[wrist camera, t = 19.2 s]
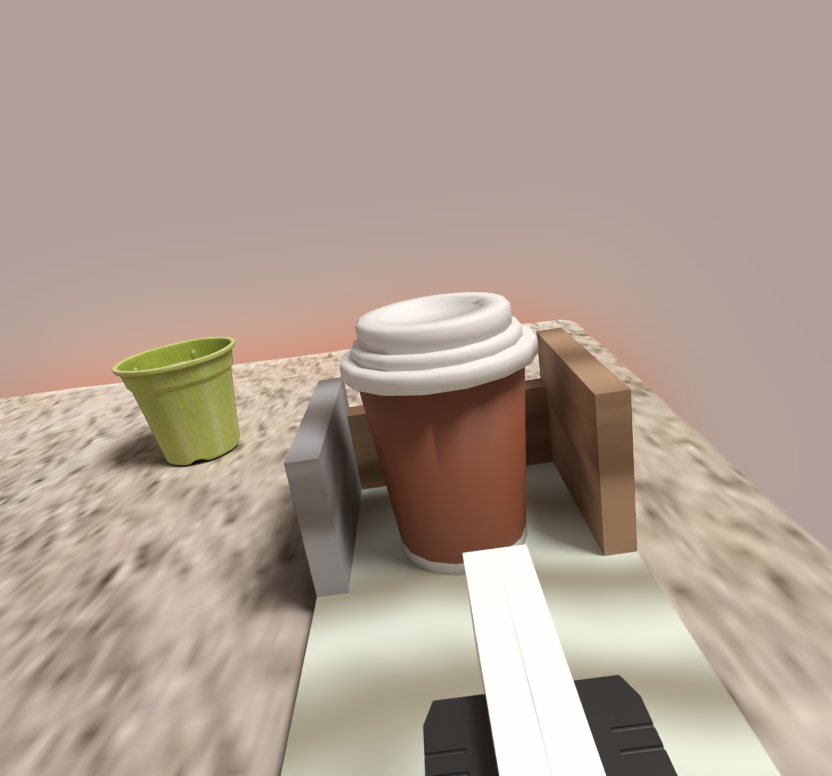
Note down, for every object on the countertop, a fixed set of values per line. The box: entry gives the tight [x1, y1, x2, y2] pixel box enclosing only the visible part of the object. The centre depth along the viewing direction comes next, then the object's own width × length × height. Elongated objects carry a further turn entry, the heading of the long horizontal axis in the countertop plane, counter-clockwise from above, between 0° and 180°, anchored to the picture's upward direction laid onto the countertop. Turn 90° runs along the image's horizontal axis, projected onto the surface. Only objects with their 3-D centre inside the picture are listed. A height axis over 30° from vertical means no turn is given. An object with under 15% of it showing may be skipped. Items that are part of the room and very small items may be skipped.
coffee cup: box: [340, 292, 538, 576], centre depth 29 cm, size 9×9×12 cm
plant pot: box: [112, 337, 240, 465], centre depth 49 cm, size 9×9×9 cm
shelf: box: [281, 328, 781, 776], centre depth 26 cm, size 24×15×9 cm, turn 1°
